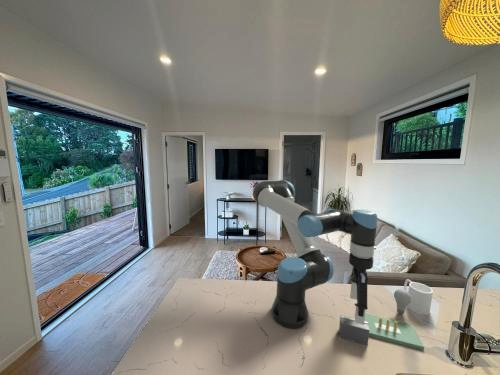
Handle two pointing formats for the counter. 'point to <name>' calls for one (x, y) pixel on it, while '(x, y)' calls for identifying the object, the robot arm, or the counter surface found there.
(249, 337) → the counter surface
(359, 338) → the block
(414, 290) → the cup
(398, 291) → the lightbulb
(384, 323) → the board
